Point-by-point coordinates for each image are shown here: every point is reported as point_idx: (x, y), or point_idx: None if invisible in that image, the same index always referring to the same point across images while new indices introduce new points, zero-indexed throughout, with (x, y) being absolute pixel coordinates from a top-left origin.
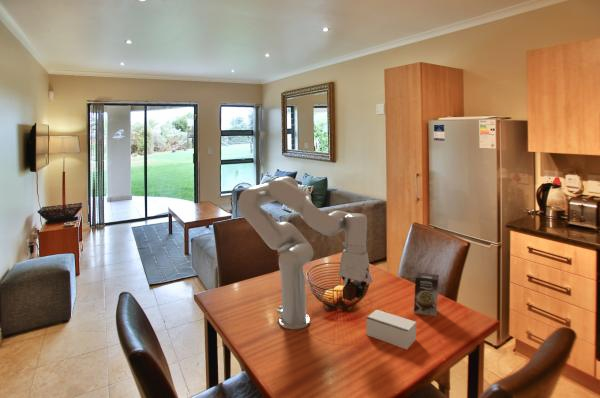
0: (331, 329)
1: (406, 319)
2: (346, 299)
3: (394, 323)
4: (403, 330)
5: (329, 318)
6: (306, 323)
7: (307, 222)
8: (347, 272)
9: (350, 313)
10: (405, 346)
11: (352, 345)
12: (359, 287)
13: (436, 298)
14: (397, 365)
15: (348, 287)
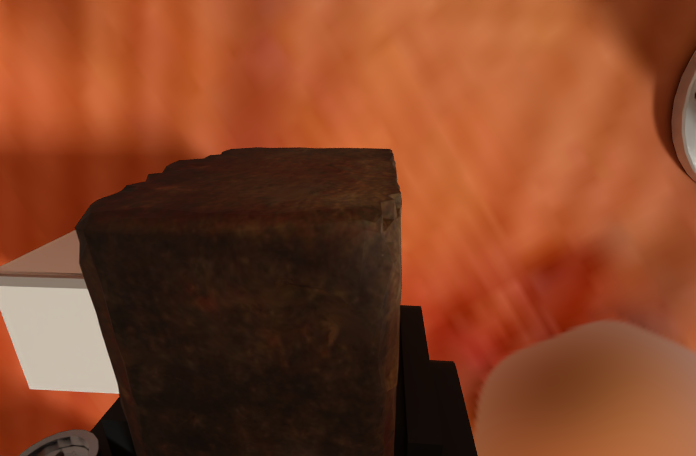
0: (499, 166)
1: (82, 385)
2: (309, 150)
3: None
4: (15, 272)
5: (570, 265)
6: (690, 98)
7: None
8: None
9: (483, 368)
10: (76, 233)
11: (302, 90)
12: (92, 453)
13: None
14: (21, 73)
15: (220, 290)
